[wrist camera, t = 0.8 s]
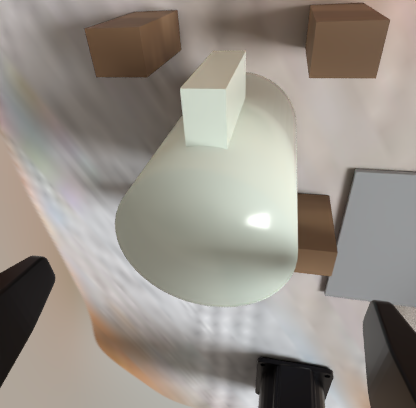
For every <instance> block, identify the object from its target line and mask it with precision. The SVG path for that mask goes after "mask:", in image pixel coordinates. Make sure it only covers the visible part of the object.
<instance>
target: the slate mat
mask: <svg viewBox="0 0 416 408" xmlns="http://www.w3.org/2000/svg"><path fill="white" fill-rule="evenodd" d="M336 245H337V251H338V253H337V257H336V261H335V265H334V269H333V273H332V276H328V280H327V284H326V288H325V296H332V297H340V298H347V299H355V300H363V301H370V302H371V301H372V300H380V301H387V302H390V303H392V304H393V305H401V306H408V307H416V172H404V171H386V170H368V169H355V172H354V176H353V180H352V184H351V188H350V192H349V196H348V200H347V204H346V208H345V212H344V216H343V220H342V224H341V228H340V232H339V236H338V240H337V244H336Z"/></svg>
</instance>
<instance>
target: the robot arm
mask: <svg viewBox="0 0 416 408" xmlns="http://www.w3.org/2000/svg"><path fill="white" fill-rule="evenodd" d="M54 283H55V274H54V272H53V270H52V268H51V266H50V264H49V262H48V260H47V259H46V258H45V257H41V256H30V257H28V258H26V259H25V260H23V261H21V262H19V263H17V264H16V265H14V266H12V267H10V268H8V269H7V270H5V271H3V272H1V273H0V387H1V386H2V384H3V382H4V380H5V379H6V377H7V375H8V373H9V372H10V370H11V368H12V366H13V365H14V363H15V361H16V359H17V358H18V356H19V354H20V352H21V351H22V349H23V347H24V345H25V343H26V342H27V340H28V338H29V336H30V335H31V333H32V331H33V329H34V327H35V325H36V323H37V321H38V318H39V316H40V314H41V312H42V309H43V307H44V305H45V303H46V300H47V298H48V296H49V294H50V292H51V289H52V287H53V285H54ZM363 336H364V349H365V362H366V375H367V386H368V394H369V400H370V406H371V408H416V332H415V331H414V330H413V329H412V327H411V326H410V325H409V324H408V323H407V321H406V320H405V319H404V318H403V316H402V315H401V314H400V313H399V311H398V310H397V309H396V308H395V307H394V305H393V304H392V303H390V302H387V301H380V300H372V301H371V302H370V304H369V307H368V310H367V312H366V315H365V317H364V320H363ZM332 380H333V371H332V370H330V369H326V368H320V367H314V366H309V365H303V364H297V363H291V362H286V361H280V360H274V359H268V358H259V359H258V364H257V377H256V391H255V392H256V393H257V394H258V395H259V406H258V408H325V399H326V396H327V393H328V391H329V388H330V385H331V382H332Z"/></svg>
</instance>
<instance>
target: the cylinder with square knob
mask: <svg viewBox="0 0 416 408" xmlns="http://www.w3.org/2000/svg"><path fill="white" fill-rule="evenodd" d="M180 94H181V104H182V113H183V115H182V116H181V117H180V119H179V120H178V122H177V123H176V124H175V126H174V127H173V129H172V130H171V131H170V133H169V134H168V136H167V137H166V138H165V140H164V141H163V143H162V144H161V145H160V147H159V148H158V150H157V151H156V152H155V154H154V155H153V157H152V158H151V159H150V161H149V162H148V163H147V165H146V166H145V168H144V169H143V170H142V172H141V173H140V175H139V176H138V177H137V179H136V180H135V182H134V183H133V184H132V186H131V187H130V189H129V190H128V191H127V193H126V194H125V196H124V197H123V199H122V200H121V202H120V204H119V206H118V210H117V213H116V219H115V230H116V235H117V240H118V242H119V245H120V248H121V250H122V252H123V253H124V255H125V257H126V258H127V260H128V261H129V263H130V264H131V265H132V266H133V267H134V269H135V270H136V271H137V272H138V273H139V274H140V275H141V276H143V277H144V278H145V279H146V280H147V281H149V282H150V283H151V284H153V285H154V286H156V287H157V288H159V289H161V290H162V291H164V292H166V293H168V294H170V295H172V296H175V297H177V298H179V299H182V300H185V301H188V302H192V303H195V304H200V305H205V306H213V307H238V306H244V305H249V304H253V303H256V302H259V301H262V300H264V299H266V298H268V297H270V296H272V295H273V294H275V293H276V292H278V291H279V290H280V289H281V288H282V287H283V286H284V285H285V284H286V283H287V282H288V280H289V279H290V278H291V276H292V274H293V272H294V270H295V267H296V263H297V259H298V214H297V142H296V116H295V112H294V109H293V106H292V104H291V102H290V100H289V98H288V97H287V95H286V94H285V93H284V91H283V90H282V89H281V88H280V87H279V86H278V85H276V84H275V83H274V82H272V81H271V80H269V79H267V78H265V77H263V76H260V75H257V74H253V73H247V72H246V50H239V51H213V52H212V53H211V54H210V55H209V56H208V57H207V58H206V60H205V61H204V62H203V63H202V64H201V65H200V66H199V67H198V69H197V70H196V71H195V72H194V73H193V74H192V75H191V77H190V78H189V79H188V80H187V81H186V82H185V83H184V84H183V86H182V87H181V88H180Z"/></svg>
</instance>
